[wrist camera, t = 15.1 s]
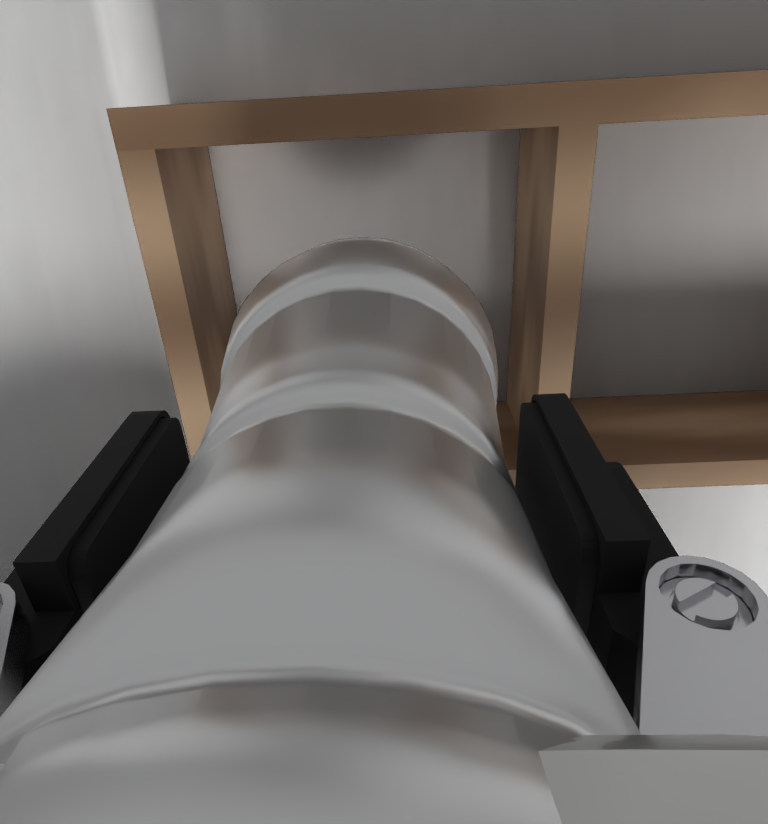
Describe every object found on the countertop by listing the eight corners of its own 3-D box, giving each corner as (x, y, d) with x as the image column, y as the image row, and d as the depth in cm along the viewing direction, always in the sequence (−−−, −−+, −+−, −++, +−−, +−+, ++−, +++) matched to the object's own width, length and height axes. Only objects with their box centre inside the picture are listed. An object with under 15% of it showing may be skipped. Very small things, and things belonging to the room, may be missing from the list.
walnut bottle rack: (809, 410, 25) (900, 479, 20) (234, 434, 25) (202, 505, 21) (921, 60, 19) (1083, 50, 14) (170, 104, 20) (106, 108, 15)
